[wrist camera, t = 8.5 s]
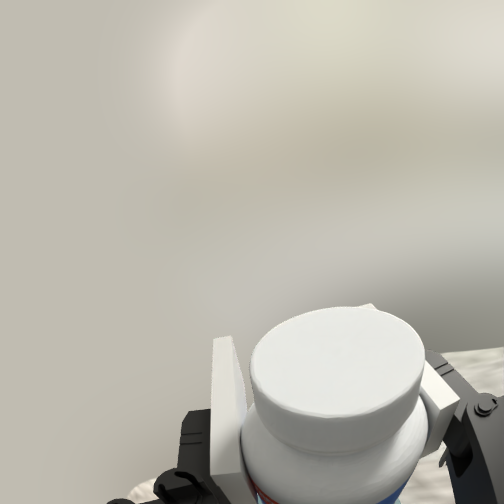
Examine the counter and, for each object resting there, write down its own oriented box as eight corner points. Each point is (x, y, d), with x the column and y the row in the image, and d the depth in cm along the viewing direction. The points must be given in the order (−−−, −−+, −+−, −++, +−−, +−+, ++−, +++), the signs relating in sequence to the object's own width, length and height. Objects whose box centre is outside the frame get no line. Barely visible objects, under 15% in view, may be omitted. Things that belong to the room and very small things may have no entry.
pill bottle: (253, 542, 8) (162, 419, 5) (289, 457, 12) (256, 294, 9) (380, 555, 5) (475, 441, 3) (394, 461, 10) (430, 287, 7)
